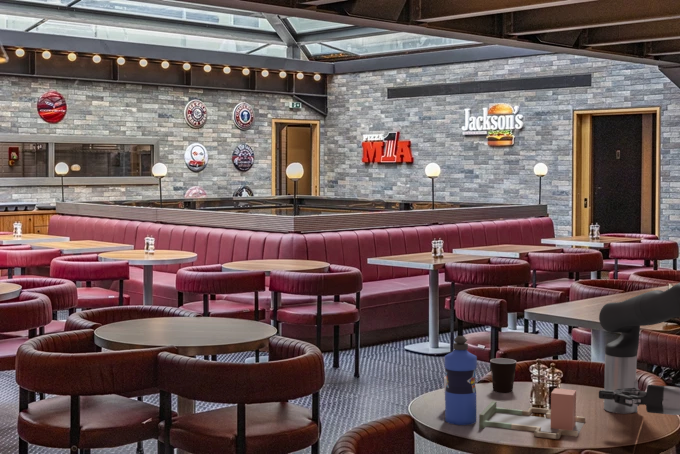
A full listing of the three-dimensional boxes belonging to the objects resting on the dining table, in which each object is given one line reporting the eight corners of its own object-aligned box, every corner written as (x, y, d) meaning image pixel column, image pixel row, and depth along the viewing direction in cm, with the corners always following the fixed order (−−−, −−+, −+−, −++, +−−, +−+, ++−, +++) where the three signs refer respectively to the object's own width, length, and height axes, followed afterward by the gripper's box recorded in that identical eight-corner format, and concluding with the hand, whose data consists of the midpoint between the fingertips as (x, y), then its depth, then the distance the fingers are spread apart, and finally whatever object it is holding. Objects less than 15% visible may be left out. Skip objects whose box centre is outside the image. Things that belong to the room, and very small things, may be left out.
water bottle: (441, 423, 255) (441, 338, 254) (448, 415, 264) (447, 332, 263) (473, 426, 253) (473, 339, 251) (479, 417, 261) (479, 334, 260)
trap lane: (587, 420, 259) (587, 407, 259) (574, 444, 236) (574, 430, 236) (495, 410, 270) (495, 397, 269) (475, 432, 247) (475, 418, 247)
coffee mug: (510, 395, 288) (510, 364, 288) (485, 391, 293) (486, 361, 292) (523, 387, 298) (523, 358, 297) (499, 384, 303) (499, 355, 302)
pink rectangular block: (575, 424, 251) (576, 390, 251) (572, 430, 246) (573, 395, 245) (554, 422, 254) (554, 388, 253) (550, 428, 248) (551, 393, 247)
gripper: (667, 381, 244) (602, 375, 251) (664, 391, 232) (596, 385, 239) (666, 408, 244) (601, 402, 251) (663, 419, 232) (595, 412, 239)
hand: (599, 394), depth 245 cm, fingers closed
